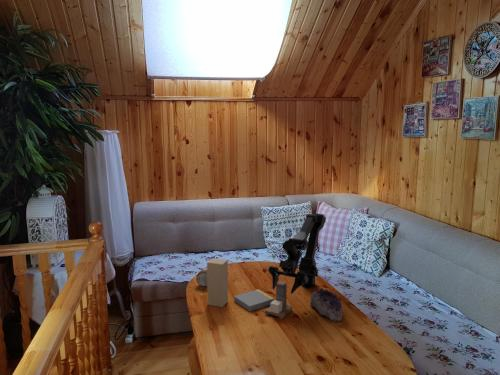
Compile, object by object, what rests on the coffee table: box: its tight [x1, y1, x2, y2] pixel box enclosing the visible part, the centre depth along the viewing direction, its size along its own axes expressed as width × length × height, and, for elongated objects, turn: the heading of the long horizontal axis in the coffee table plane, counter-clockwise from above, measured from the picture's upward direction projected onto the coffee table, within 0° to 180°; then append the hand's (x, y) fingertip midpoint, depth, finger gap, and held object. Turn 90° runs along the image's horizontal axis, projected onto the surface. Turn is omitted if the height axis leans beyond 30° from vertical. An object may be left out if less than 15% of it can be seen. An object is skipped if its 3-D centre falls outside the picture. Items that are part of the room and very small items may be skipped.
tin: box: [195, 269, 207, 288], centre depth 213 cm, size 15×3×8 cm, turn 84°
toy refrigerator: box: [206, 257, 229, 308], centre depth 193 cm, size 8×7×21 cm
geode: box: [309, 287, 343, 323], centre depth 184 cm, size 20×12×10 cm, turn 20°
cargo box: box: [269, 299, 282, 313], centre depth 182 cm, size 4×4×4 cm
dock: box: [233, 288, 275, 312], centre depth 194 cm, size 14×13×3 cm
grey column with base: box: [264, 281, 293, 320], centre depth 183 cm, size 10×9×13 cm
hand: (282, 291), depth 186 cm, fingers open, 9 cm apart
